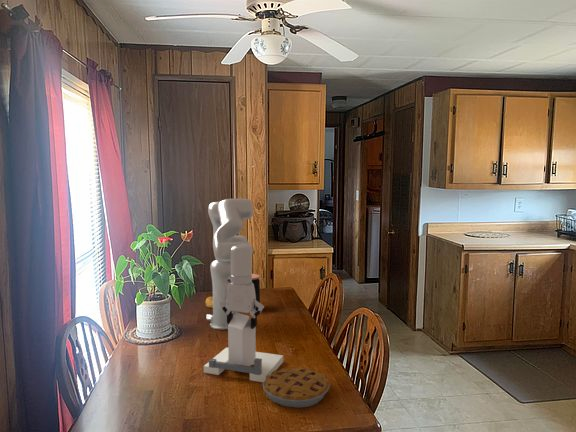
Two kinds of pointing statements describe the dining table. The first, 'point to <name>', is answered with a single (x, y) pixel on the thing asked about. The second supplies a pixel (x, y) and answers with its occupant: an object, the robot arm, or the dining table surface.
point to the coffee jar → (256, 287)
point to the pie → (296, 387)
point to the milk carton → (241, 340)
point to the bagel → (209, 302)
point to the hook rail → (238, 366)
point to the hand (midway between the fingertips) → (241, 326)
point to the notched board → (268, 364)
